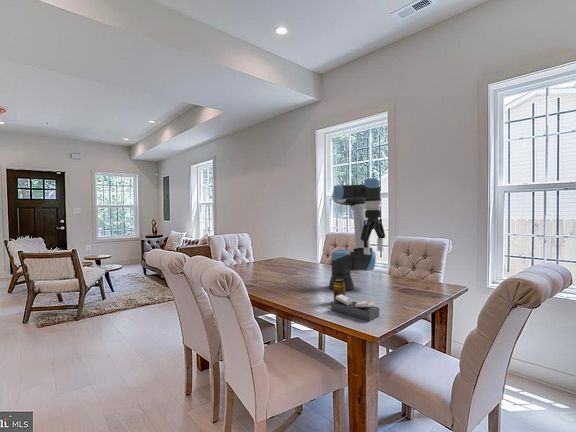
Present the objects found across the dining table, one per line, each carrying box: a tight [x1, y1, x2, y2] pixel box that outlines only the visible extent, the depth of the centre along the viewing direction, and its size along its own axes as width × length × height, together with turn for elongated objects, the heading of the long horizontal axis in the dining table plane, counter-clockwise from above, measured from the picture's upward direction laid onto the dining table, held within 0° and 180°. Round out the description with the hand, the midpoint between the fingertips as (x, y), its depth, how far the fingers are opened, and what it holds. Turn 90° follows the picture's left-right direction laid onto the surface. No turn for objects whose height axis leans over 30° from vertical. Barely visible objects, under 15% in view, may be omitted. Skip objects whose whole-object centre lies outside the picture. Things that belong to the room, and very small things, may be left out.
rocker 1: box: [336, 294, 354, 305], centre depth 146 cm, size 7×4×2 cm, turn 44°
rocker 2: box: [355, 300, 375, 307], centre depth 138 cm, size 7×4×2 cm, turn 44°
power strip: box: [329, 300, 380, 322], centre depth 143 cm, size 25×8×5 cm, turn 44°
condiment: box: [333, 279, 346, 301], centre depth 160 cm, size 7×8×12 cm
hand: (373, 252), depth 151 cm, fingers open, 13 cm apart
